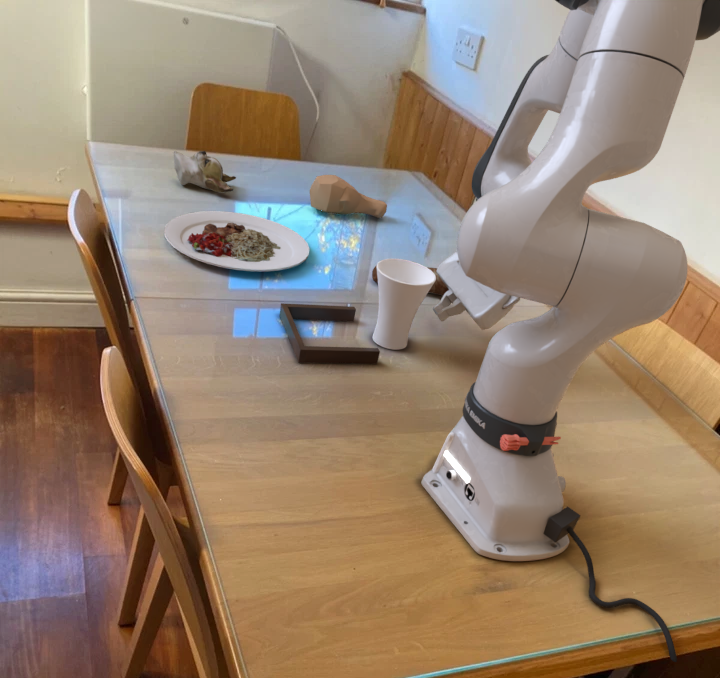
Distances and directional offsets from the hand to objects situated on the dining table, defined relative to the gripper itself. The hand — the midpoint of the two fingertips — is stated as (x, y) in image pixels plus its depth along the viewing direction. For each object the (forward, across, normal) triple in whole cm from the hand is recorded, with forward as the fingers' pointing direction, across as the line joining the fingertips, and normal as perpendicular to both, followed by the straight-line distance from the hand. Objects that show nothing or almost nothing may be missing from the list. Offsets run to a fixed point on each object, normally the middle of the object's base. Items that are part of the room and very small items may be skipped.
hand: (436, 315), depth 127 cm
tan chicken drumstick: (+3, +64, -5) cm, 64 cm away
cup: (+10, 0, +2) cm, 10 cm away
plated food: (+25, +38, +17) cm, 49 cm away
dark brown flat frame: (+18, 0, +10) cm, 20 cm away
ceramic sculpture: (+27, +73, +19) cm, 80 cm away
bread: (0, +22, -8) cm, 23 cm away
